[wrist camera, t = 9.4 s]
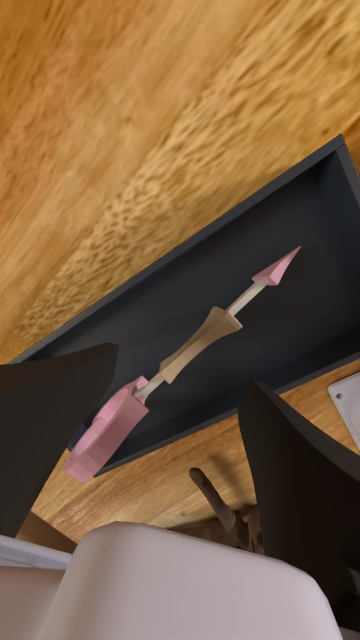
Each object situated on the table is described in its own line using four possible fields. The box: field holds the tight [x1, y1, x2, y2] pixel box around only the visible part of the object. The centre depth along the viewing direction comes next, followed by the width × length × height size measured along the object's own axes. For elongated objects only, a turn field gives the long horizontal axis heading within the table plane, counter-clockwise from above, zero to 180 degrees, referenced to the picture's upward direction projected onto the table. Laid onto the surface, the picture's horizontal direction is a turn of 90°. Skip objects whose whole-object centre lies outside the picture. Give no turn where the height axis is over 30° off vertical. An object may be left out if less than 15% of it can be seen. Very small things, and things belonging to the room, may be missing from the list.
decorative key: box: [63, 246, 301, 483], centre depth 14 cm, size 7×1×20 cm
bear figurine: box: [174, 467, 264, 556], centre depth 20 cm, size 18×4×14 cm
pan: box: [7, 134, 360, 478], centre depth 15 cm, size 12×26×3 cm, turn 123°
